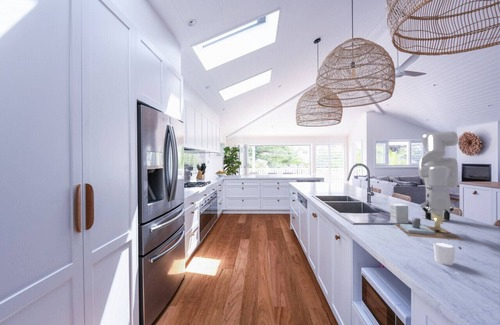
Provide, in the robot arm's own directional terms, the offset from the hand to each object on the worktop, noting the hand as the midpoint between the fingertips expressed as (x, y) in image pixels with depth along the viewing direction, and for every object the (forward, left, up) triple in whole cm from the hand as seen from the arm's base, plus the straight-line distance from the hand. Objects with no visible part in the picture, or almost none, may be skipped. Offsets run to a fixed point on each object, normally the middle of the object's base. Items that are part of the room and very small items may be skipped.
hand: (437, 219), depth 121 cm
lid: (0, -10, -7) cm, 12 cm away
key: (+1, 0, -6) cm, 7 cm away
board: (+1, -6, -8) cm, 10 cm away
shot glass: (+38, -15, -8) cm, 42 cm away
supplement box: (-17, -13, -8) cm, 23 cm away
